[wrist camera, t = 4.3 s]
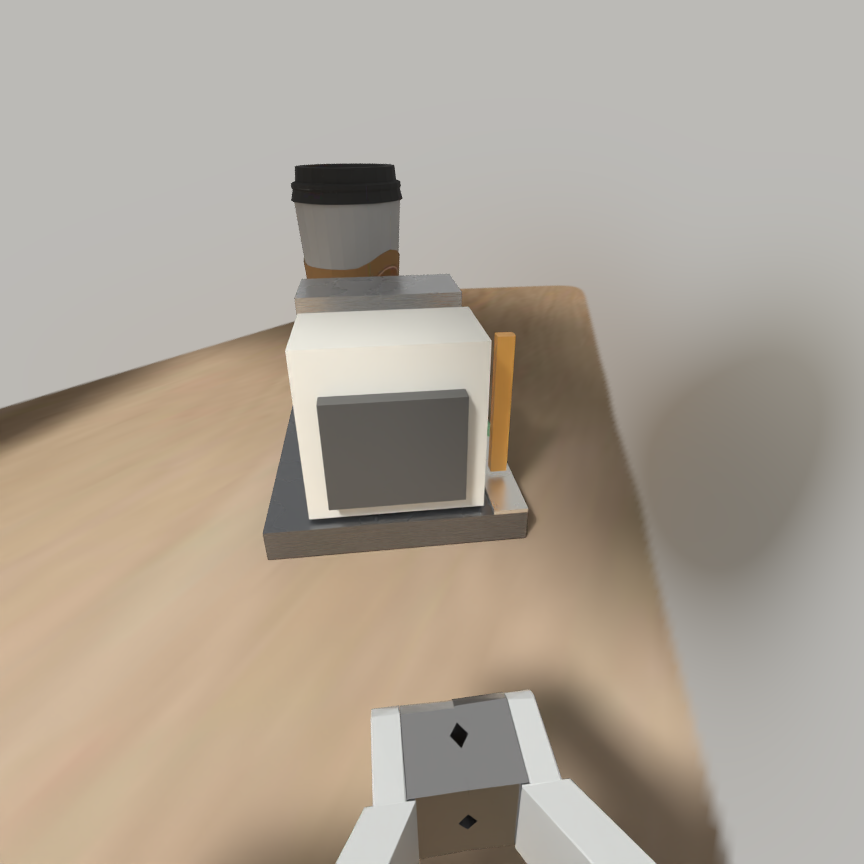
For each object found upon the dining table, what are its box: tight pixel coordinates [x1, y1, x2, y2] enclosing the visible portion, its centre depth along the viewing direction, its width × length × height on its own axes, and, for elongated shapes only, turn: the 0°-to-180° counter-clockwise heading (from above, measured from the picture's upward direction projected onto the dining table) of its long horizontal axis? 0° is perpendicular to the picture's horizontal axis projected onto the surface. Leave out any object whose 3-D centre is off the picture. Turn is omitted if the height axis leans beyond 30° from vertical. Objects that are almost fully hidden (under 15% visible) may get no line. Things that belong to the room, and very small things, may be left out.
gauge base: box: [263, 274, 528, 560], centre depth 31 cm, size 18×12×8 cm, turn 7°
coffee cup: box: [291, 164, 402, 279], centre depth 44 cm, size 8×8×15 cm
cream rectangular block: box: [285, 307, 516, 519], centre depth 25 cm, size 6×10×8 cm, turn 97°
